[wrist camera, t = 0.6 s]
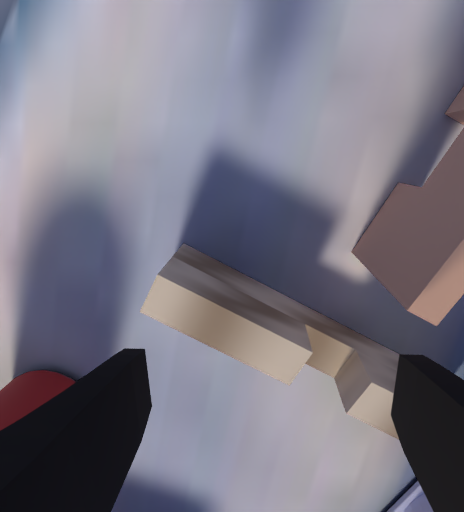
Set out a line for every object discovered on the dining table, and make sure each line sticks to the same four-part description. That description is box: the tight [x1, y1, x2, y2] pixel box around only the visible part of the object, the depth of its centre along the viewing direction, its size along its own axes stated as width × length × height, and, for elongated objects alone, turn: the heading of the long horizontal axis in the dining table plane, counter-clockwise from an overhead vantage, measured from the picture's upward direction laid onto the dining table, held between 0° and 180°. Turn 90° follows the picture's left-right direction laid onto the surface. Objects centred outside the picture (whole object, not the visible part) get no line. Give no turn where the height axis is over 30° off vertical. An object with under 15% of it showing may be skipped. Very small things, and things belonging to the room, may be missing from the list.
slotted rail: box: [140, 244, 399, 439], centre depth 17 cm, size 18×2×5 cm, turn 63°
